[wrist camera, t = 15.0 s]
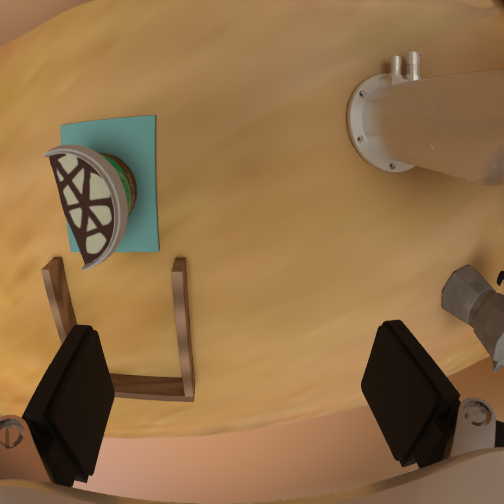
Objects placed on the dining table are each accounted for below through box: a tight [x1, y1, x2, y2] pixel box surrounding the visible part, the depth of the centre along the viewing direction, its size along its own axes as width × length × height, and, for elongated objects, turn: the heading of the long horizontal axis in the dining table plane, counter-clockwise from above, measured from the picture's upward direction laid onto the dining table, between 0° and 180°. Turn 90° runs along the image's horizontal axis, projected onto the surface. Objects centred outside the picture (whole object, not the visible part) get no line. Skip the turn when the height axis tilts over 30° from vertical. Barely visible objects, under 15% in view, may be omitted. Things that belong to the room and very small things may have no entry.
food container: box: [43, 145, 137, 271], centre depth 29 cm, size 12×6×10 cm, turn 13°
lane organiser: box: [41, 257, 195, 402], centre depth 39 cm, size 21×18×4 cm
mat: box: [61, 116, 159, 252], centre depth 34 cm, size 16×12×1 cm
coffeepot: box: [442, 265, 504, 372], centre depth 36 cm, size 15×9×18 cm, turn 175°
